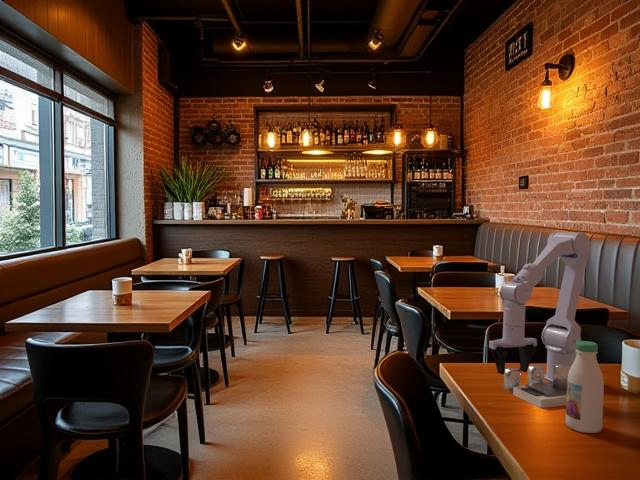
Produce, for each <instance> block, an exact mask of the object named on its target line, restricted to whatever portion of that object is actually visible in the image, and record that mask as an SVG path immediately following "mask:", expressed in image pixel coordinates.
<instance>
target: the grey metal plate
mask: <svg viewBox="0 0 640 480" xmlns="http://www.w3.org/2000/svg"><path fill="white" fill-rule="evenodd" d="M525 387H527V388H530V389H532V390H534V391H536V392H538V393H540V394H543V395H545V396H549V395H558V394H566V393H567V389H563V388H557V387H554V386H553V381H544V382H543V383H534V384H528V383H527V384H525Z"/></svg>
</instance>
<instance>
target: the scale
mask: <svg viewBox="0 0 640 480" xmlns="http://www.w3.org/2000/svg"><path fill="white" fill-rule="evenodd" d="M512 394H513V396H515V397H518V398H519V399H521V400H523V401H525V402H527V403H530V404H531V405H533V406H535V407H537V408H539V409H543V408H544V409H545V408H554V407H555V408H556V407H561V406H566V399H567V393H566V394H558V395H549V396H545V395H543V394H540V393H538V392H536V391H534V390H532V389H530V388H527V387H525V385H520V386H515V387H513V391H512Z"/></svg>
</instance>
